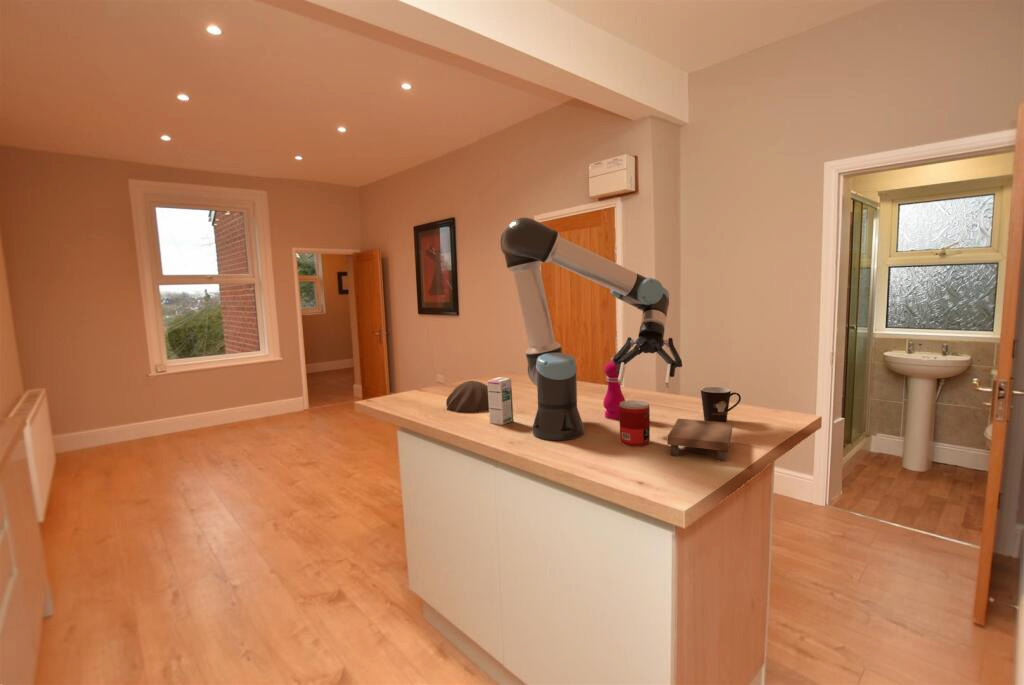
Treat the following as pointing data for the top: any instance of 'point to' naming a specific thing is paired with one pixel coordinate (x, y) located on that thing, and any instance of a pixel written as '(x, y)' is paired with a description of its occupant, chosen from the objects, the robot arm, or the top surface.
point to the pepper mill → (612, 392)
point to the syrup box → (500, 400)
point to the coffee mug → (716, 403)
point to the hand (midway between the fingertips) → (642, 383)
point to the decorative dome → (469, 398)
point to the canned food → (634, 423)
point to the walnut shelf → (700, 436)
